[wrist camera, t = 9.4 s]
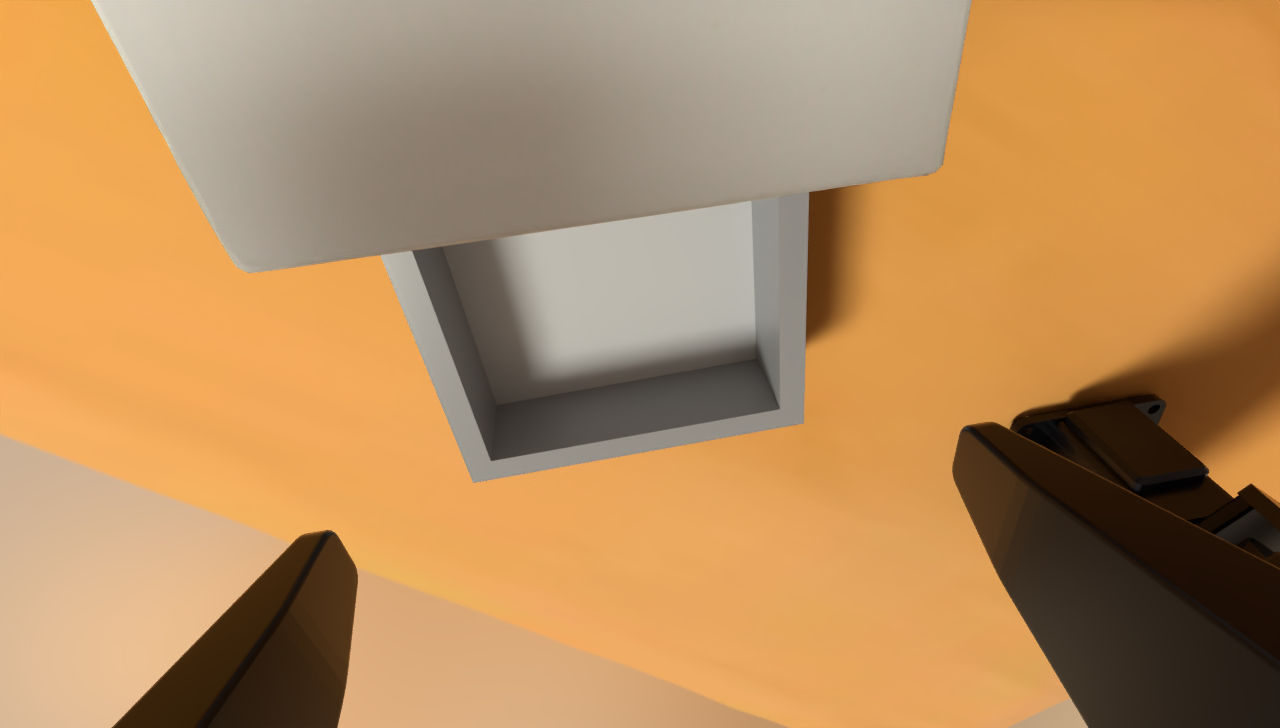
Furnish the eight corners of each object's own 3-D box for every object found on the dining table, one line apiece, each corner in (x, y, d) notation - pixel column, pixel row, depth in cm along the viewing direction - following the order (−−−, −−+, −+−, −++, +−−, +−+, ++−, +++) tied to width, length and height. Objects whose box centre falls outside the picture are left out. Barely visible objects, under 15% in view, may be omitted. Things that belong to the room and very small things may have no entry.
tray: (773, 362, 24) (803, 423, 21) (482, 415, 24) (473, 482, 21) (762, -581, 12) (830, -738, 9) (153, -488, 12) (23, -618, 9)
